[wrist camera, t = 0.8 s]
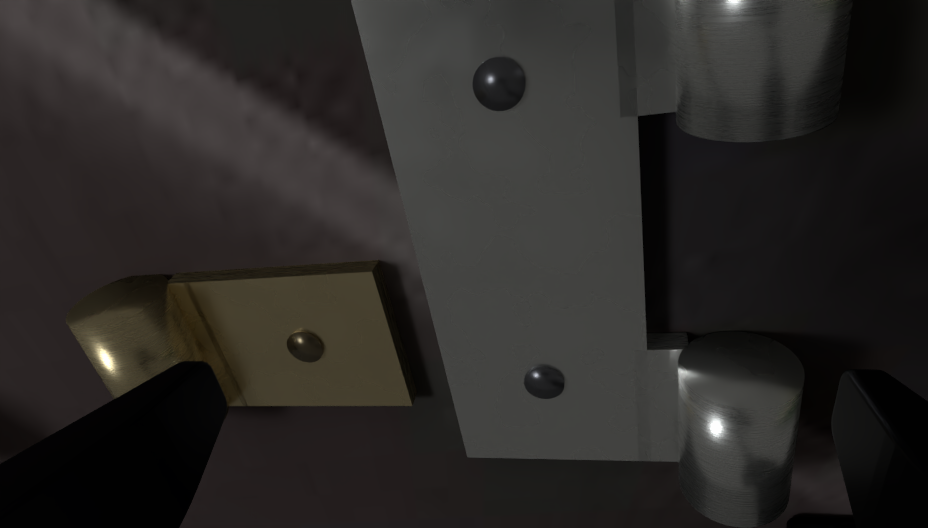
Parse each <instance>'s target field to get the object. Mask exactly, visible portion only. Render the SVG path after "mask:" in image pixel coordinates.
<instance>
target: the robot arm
mask: <svg viewBox="0 0 928 528" xmlns="http://www.w3.org/2000/svg"><path fill="white" fill-rule="evenodd" d="M226 412H227V400H226V397H225V395H224V393H223V390H222V388H221V386H220V384H219V382H218V379H217V377H216V375H215V373H214V371H213V369H212V367H211V366H210V365H209V364H208V363H207V362H204V361H183V362H179V363H177V364H176V365H174V366H172V367H170V368H168V369H167V370H165V371H163V372H161V373H160V374H158V375H156V376H154V377H153V378H151V379H149V380H147V381H146V382H144V383H142V384H140V385H139V386H137V387H135V388H133V389H131V390H130V391H128V392H126V393H124V394H123V395H121V396H119V397H117V398H116V399H114V400H112V401H110V402H109V403H107V404H105V405H103V406H102V407H100V408H98V409H96V410H94V411H93V412H91V413H89V414H87V415H86V416H84V417H82V418H80V419H79V420H77V421H75V422H73V423H72V424H70V425H68V426H66V427H65V428H63V429H61V430H59V431H57V432H56V433H54V434H52V435H50V436H49V437H47V438H45V439H43V440H42V441H40V442H38V443H36V444H35V445H33V446H31V447H29V448H28V449H26V450H24V451H22V452H20V453H19V454H17V455H15V456H13V457H12V458H10V459H8V460H6V461H5V462H3V463H1V464H0V528H179V527H180V525H181V523H182V521H183V519H184V517H185V515H186V513H187V511H188V509H189V506H190V504H191V502H192V500H193V497H194V495H195V493H196V490H197V488H198V485H199V483H200V480H201V478H202V475H203V473H204V470H205V467H206V465H207V462H208V460H209V457H210V455H211V452H212V449H213V447H214V444H215V442H216V439H217V437H218V434H219V431H220V429H221V426H222V424H223V421H224V419H225V416H226ZM832 434H833V438H834V442H835V446H836V450H837V454H838V458H839V462H840V466H841V470H842V474H843V477H844V481H845V485H846V489H847V493H848V497H849V501H850V505H851V509H852V513H853V516H854V518H831V517H806V516H797V517H793V518H791V519H789V520H788V522H787V527H786V528H928V401H926V400H925V399H924V398H922V397H921V396H919V395H918V394H916V393H915V392H913V391H912V390H911V389H909V388H908V387H906V386H905V385H903V384H902V383H901V382H899V381H898V380H896V379H895V378H893V377H892V376H891V375H889V374H888V373H886V372H884V371H881V370H860V369H850V370H847V371H845V372H844V373H843V374H842V376H841V379H840V382H839V387H838V392H837V396H836V401H835V405H834V410H833V414H832Z"/></svg>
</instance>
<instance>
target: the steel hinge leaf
mask: <svg viewBox="0 0 928 528" xmlns="http://www.w3.org/2000/svg"><path fill="white" fill-rule="evenodd" d="M351 2H352V6H353V9H354V13H355V17H356V21H357V25H358V29H359V33H360V37H361V41H362V45H363V49H364V53H365V57H366V61H367V64H368V68H369V72H370V76H371V80H372V84H373V88H374V92H375V96H376V100H377V104H378V108H379V112H380V115H381V119H382V123H383V127H384V131H385V135H386V139H387V143H388V147H389V151H390V155H391V159H392V163H393V167H394V170H395V174H396V178H397V182H398V186H399V190H400V194H401V198H402V202H403V206H404V210H405V214H406V218H407V221H408V225H409V229H410V233H411V237H412V241H413V245H414V249H415V253H416V257H417V261H418V265H419V269H420V273H421V276H422V280H423V284H424V288H425V292H426V296H427V300H428V304H429V308H430V312H431V316H432V320H433V324H434V327H435V331H436V335H437V339H438V343H439V347H440V351H441V355H442V359H443V363H444V367H445V371H446V375H447V379H448V382H449V386H450V390H451V394H452V398H453V402H454V406H455V410H456V414H457V418H458V422H459V426H460V430H461V433H462V437H463V441H464V445H465V449H466V453H467V457H476V458H524V459H572V460H620V461H668V462H679V484H680V487H681V490H682V492H683V494H684V496H685V498H686V499H687V500H688V502H689V503H690V504H691V505H692V506H693V507H694V508H695V509H696V510H697V511H699V512H700V513H701V514H703V515H704V516H706V517H708V518H710V519H711V520H714V521H716V522H718V523H721V524H725V525H728V526H733V527H757V526H761V525H765V524H767V523H770V522H772V521H773V520H775V519H776V518H778V517H779V516H780V515H781V514H782V513H783V512H784V510H785V509H786V507H787V504H788V501H789V495H790V487H791V479H792V471H793V464H794V456H795V448H796V440H797V432H798V425H799V417H800V409H801V401H802V393H803V385H804V378H805V374H804V368H803V365H802V363H801V362H800V360H799V359H798V357H797V356H796V355H795V354H794V353H793V352H792V351H791V350H790V349H788V348H787V347H786V346H784V345H782V344H781V343H779V342H777V341H775V340H773V339H770V338H768V337H765V336H762V335H758V334H754V333H748V332H740V331H723V332H715V333H711V334H707V335H704V336H701V337H699V338H697V339H695V340H693V341H692V342H690V343H688V338H687V333H686V332H681V333H647V334H646V312H645V287H644V261H643V236H642V211H641V186H640V160H639V135H638V116H643V115H651V114H660V113H669V112H676V123H677V125H678V127H679V128H680V129H681V130H683V131H684V132H686V133H688V134H691V135H694V136H697V137H700V138H704V139H710V140H716V141H725V142H764V141H774V140H782V139H788V138H794V137H798V136H803V135H806V134H809V133H813V132H815V131H818V130H821V129H823V128H825V127H827V126H828V125H830V124H831V123H833V122H834V121H835V120H836V118H837V117H838V112H839V104H840V96H841V89H842V81H843V73H844V65H845V57H846V50H847V42H848V34H849V26H850V18H851V10H852V3H853V0H351Z"/></svg>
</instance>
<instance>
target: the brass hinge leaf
mask: <svg viewBox="0 0 928 528" xmlns="http://www.w3.org/2000/svg"><path fill="white" fill-rule="evenodd" d="M66 323H67V325H68V326H69V328H70V329H71V331H72V333H73V334H74V336H75V337H76V339H77V341H78V342H79V344H80V345H81V347H82V349H83V350H84V352H85V353H86V355H87V357H88V358H89V360H90V361H91V363H92V365H93V366H94V368H95V369H96V371H97V373H98V374H99V376H100V377H101V379H102V381H103V382H104V384H105V385H106V387H107V389H108V390H109V392H110V393H111V395H112V397H113V398H114V399H116V398H117V397H119V396H121V395H123V394H124V393H126V392H128V391H130V390H131V389H133V388H135V387H137V386H139V385H140V384H142V383H144V382H146V381H147V380H149V379H151V378H153V377H154V376H156V375H158V374H160V373H161V372H163V371H165V370H167V369H168V368H170V367H172V366H174V365H176V364H177V363H179V362H183V361H204V362H207V363H208V364H209V365H210V366H211V367H212V369H213V371H214V373H215V375H216V377H217V379H218V382H219V384H220V386H221V388H222V390H223V393H224V395H225V397H226V400H227V412H226V416H227V413H228V410H229V406H412V405H413V403H414V400H415V397H416V394H417V390H416V387H415V383H414V380H413V376H412V373H411V369H410V366H409V363H408V359H407V356H406V352H405V349H404V345H403V342H402V338H401V335H400V332H399V328H398V325H397V321H396V318H395V314H394V311H393V308H392V304H391V301H390V297H389V294H388V290H387V287H386V284H385V280H384V277H383V273H382V270H381V266H380V263H379V260H373V261H358V262H342V263H327V264H311V265H296V266H280V267H264V268H249V269H233V270H218V271H202V272H187V273H176V274H175V275H174V276H173V277H172V278H171V279H170V280H169V281H168V280H167V278H166V277H165V276H163V275H161V274H156V275H140V276H130V277H126V278H123V279H120V280H117V281H115V282H112V283H110V284H107V285H105V286H103V287H101V288H99V289H97V290H95V291H94V292H92V293H90V294H89V295H87V296H86V297H84V298H83V299H81V300H80V301H79V302H78V303H77V304H75V305H74V306H73V307H72V309H71V310H70V311H69V313H68V314H67V317H66ZM226 416H225V418H226Z"/></svg>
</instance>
